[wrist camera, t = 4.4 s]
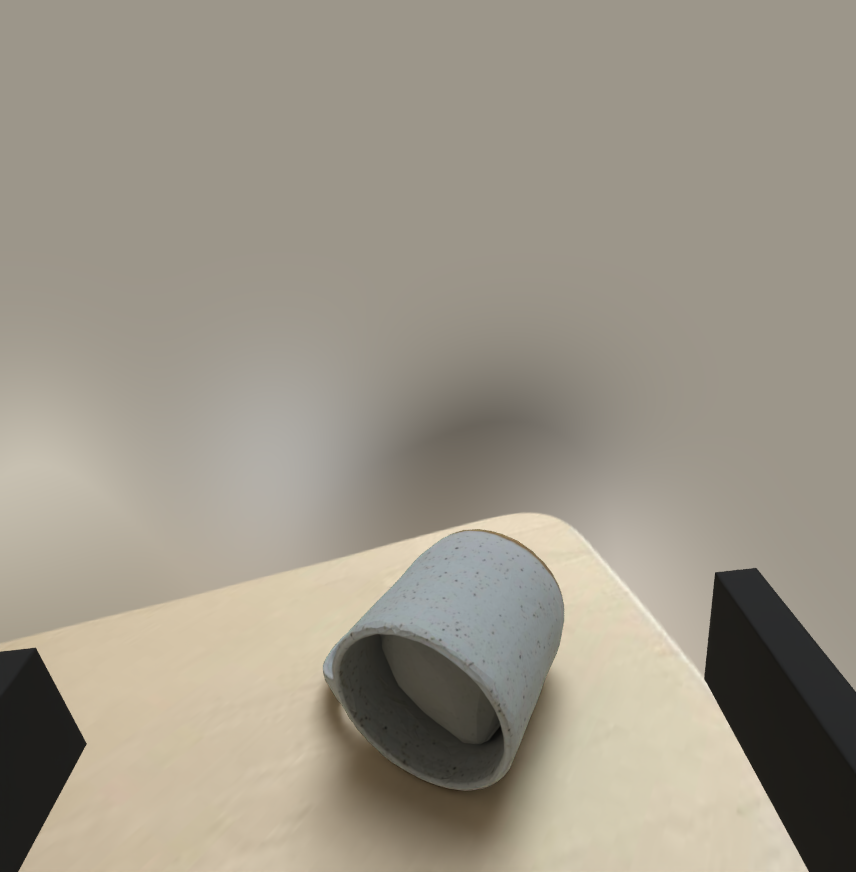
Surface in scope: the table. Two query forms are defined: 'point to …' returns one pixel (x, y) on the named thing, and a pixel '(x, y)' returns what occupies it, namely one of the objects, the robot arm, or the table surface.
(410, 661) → the ceramic mug
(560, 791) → the table surface
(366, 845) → the table surface
